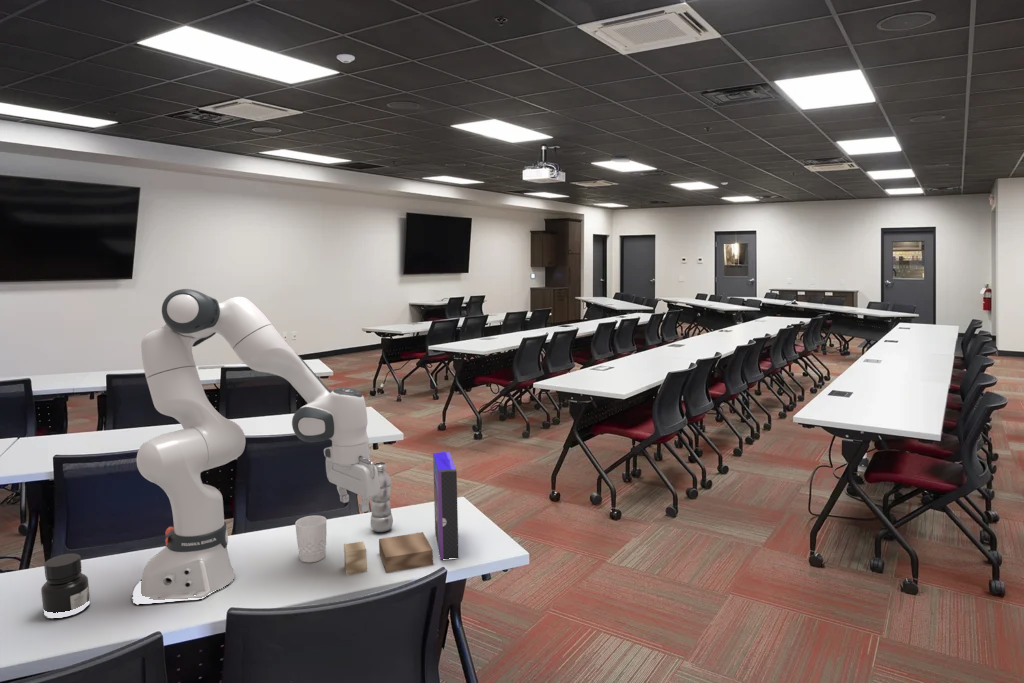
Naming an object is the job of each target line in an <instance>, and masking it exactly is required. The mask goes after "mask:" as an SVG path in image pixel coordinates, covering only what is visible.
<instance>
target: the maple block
mask: <svg viewBox="0 0 1024 683" xmlns="http://www.w3.org/2000/svg"><path fill="white" fill-rule="evenodd" d="M343 552H344V554H343V555H344V557H343V558H344V568H345V571H346V575H347V576H348V575H354V574H361V573H366V572H368V563H367V562H368V561H367V560H368V559H367V547H366V543H365V542H364V540H363V541H356V542H349V543H344V544H343Z"/></svg>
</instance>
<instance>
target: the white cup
mask: <svg viewBox="0 0 1024 683" xmlns="http://www.w3.org/2000/svg"><path fill="white" fill-rule="evenodd" d="M294 526H295V534H296V542H297V543H296V545H297V550H298V556H299V561H301V562H302V563H315V562H319V561H321V560H323V559H325V557H326V556H327V551H326V550H327V549H326V548H327V547H326V546H327V518H326V517H325V516H322V515H308V516H304V517H301V518H298V519H297V520H296V521H295V524H294Z"/></svg>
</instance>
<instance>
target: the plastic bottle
mask: <svg viewBox="0 0 1024 683" xmlns="http://www.w3.org/2000/svg"><path fill="white" fill-rule="evenodd" d="M373 465H374V466H375V467H376V468H377V471H378V476H379V484H380V493H379V495H378V496H375V497H372V498H371V499H370V501H371V516H370V527H371V529H372V531H373V532H375V533H385V532H387V531H390V530H391V529H392V527H393V523H394V519H393V514H392V509H391V491H392V490H391V488H392V478H391V477H390V475H389V473H388V472H386V470H387V463H386V462H384V461H377V462H373Z"/></svg>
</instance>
